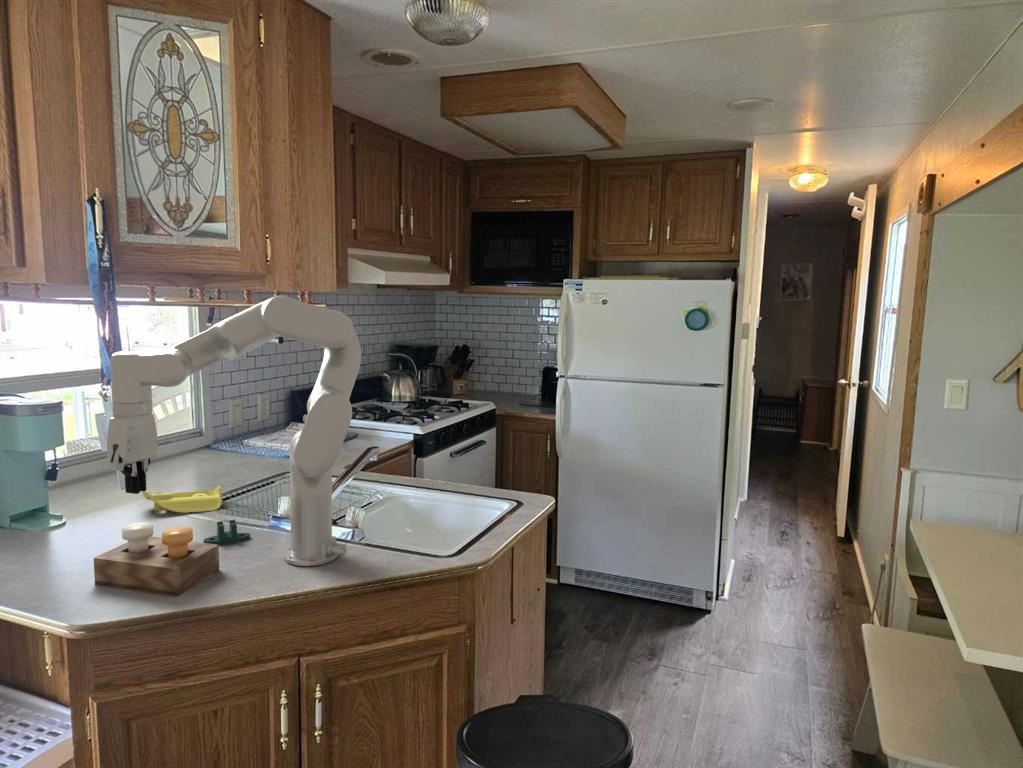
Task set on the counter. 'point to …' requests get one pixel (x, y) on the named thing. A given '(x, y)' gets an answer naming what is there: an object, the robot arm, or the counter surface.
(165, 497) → the plastic component
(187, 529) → the orange button
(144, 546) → the cream button
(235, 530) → the mount
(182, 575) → the wooden peg board
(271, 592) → the counter surface
